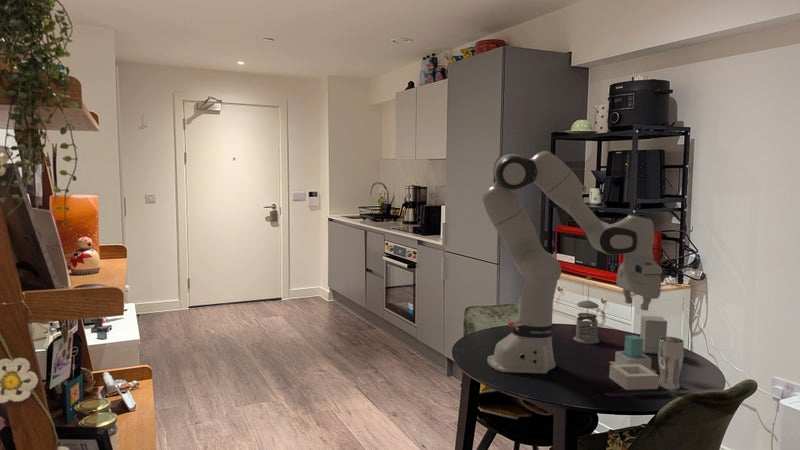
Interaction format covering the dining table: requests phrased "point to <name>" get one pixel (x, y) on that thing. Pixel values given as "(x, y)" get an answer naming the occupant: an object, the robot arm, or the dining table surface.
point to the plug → (633, 346)
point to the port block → (634, 377)
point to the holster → (632, 360)
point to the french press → (587, 322)
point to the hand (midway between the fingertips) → (636, 306)
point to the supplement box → (652, 332)
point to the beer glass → (670, 362)
